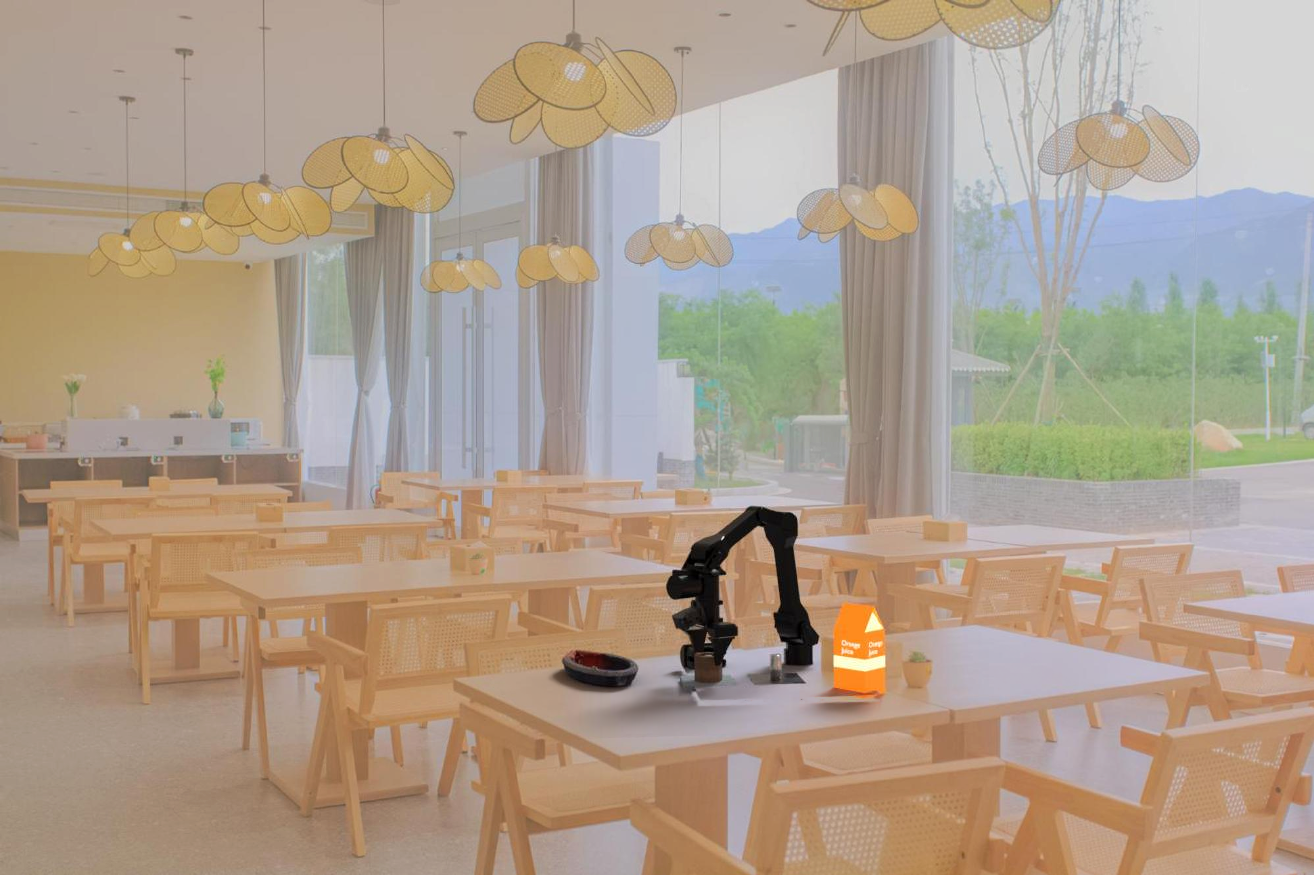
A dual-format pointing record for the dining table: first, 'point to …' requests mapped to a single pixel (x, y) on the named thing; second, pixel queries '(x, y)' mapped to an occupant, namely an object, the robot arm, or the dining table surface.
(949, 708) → the dining table surface
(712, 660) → the sleeve
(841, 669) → the orange juice
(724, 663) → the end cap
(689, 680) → the grey peg base
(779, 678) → the stand
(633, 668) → the dish
